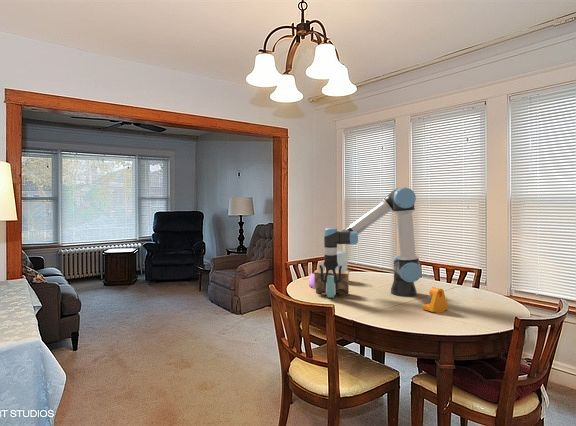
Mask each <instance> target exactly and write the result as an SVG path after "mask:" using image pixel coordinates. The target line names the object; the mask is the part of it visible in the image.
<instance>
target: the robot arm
mask: <svg viewBox="0 0 576 426" xmlns="http://www.w3.org/2000/svg"><path fill="white" fill-rule="evenodd" d="M416 201H417V196H416V193H415V192H414V191H413V189H411V188H410V187H406V186H405V187H404V186H402V187H397V188H395V189H393V190H392V191H391V192H390V193H388V195H386V196H385V197H384V198H382V199H381V202H380V203H378V204H377V205H376V206H375V207H373V208H372V209H370V210H369V211H367V213H365V214H364V215H362V216H361V217H359V218H358V219H357V220H356V221H354V222H353V223H351V224H350V225H349V226H347V227H346V228H344V229H342V230H341V231H338V228H335V227H326V228H325V229H324V231H323V233H324V235H323V236H324V237H323V241H324V242H323V244H324V245H323V248H324V249H323V252H324V255H323V257H324V261H323V263H322V264H319V269H320V270H321V282H324V288H326V294H327V282H326V281H327V276H328V272H329V271H331V270H333V274H334V279H335V283H334V295H335V296H336V295H337V294H336V289H337V288H338V283H339V282H340V281H341V268H342V265H339V264H338V263H337V255H336V254H337V250H338V245H352V246H353V245H357V244H358V243H359V235H360V234H361V233H362V232H364V231H365V230H366V229H368V228H369V227H371V226H372V225H374V224H375V223H376V222H378V221H379V220H380V219H382V218H383V217H384V216H386V215H387V214H389V213H393V212H394V214H396V219H397V221H396V222H397V224H396V225H397V233H398V234H397V235H398V243H399V255H395V256H394V257H393V282H392V285H391V286H390V293H391V294H392V295H395V296H400V297H412V296H413V297H414V296H416V295H417V288H416V285H415V282H417V281H419V280H420V279H421V277H422V275H423V274H422V273H423V272H422V267H421V266H420V259H419V258H420V257H419V256H418V255H417V254H416V245H415V232H414V229H415V228H414V218H413V217H414V216H413V214H414V211H415V210H416V209H415V207H416V206H415V203H416ZM337 266H338V268H339V276H338V280H337V276H336V271H335V268H336V267H337ZM324 268H325V269H326V275H325V279H323V270H324Z"/></svg>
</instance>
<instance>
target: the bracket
mask: <svg viewBox="0 0 576 426" xmlns="http://www.w3.org/2000/svg"><path fill="white" fill-rule="evenodd" d="M429 296H430V297H431V299H430V303H425V304H422V310H426V311H429V312H431V313H436V314H438V313H442V312H445V310H448V303H447V297H446V295H445V290H444V289H443V288H439V287H435V286H432V287H431V288H430V289H429Z"/></svg>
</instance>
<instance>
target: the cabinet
mask: <svg viewBox="0 0 576 426" xmlns="http://www.w3.org/2000/svg"><path fill="white" fill-rule="evenodd" d="M313 274H314V278H315V288H316V289H315V293H316V294H322V292H323V291H326V288H324V282H321V269H320V270H319V269H316V270H314V272H313ZM325 275H326V270H325V269H323V279H325ZM328 276H334V274H333V271H331V270H329V272H328ZM336 276H337V280H338V276H339V271H336ZM349 276H350V271H349V270H347V271H341V281H340V282H339V283H338V288H337V289H336V293H338V294H337V295H344V294H348V293H349V289H350V288H349V285H350V284H349V282H350V281H349ZM326 282H327V281H326ZM348 295H349V294H348Z"/></svg>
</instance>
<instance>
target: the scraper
mask: <svg viewBox="0 0 576 426" xmlns="http://www.w3.org/2000/svg"><path fill="white" fill-rule="evenodd" d="M334 283H335V279H334V276H327V296H326V297H327V298H335V296H336V294H335V295H334Z"/></svg>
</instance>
